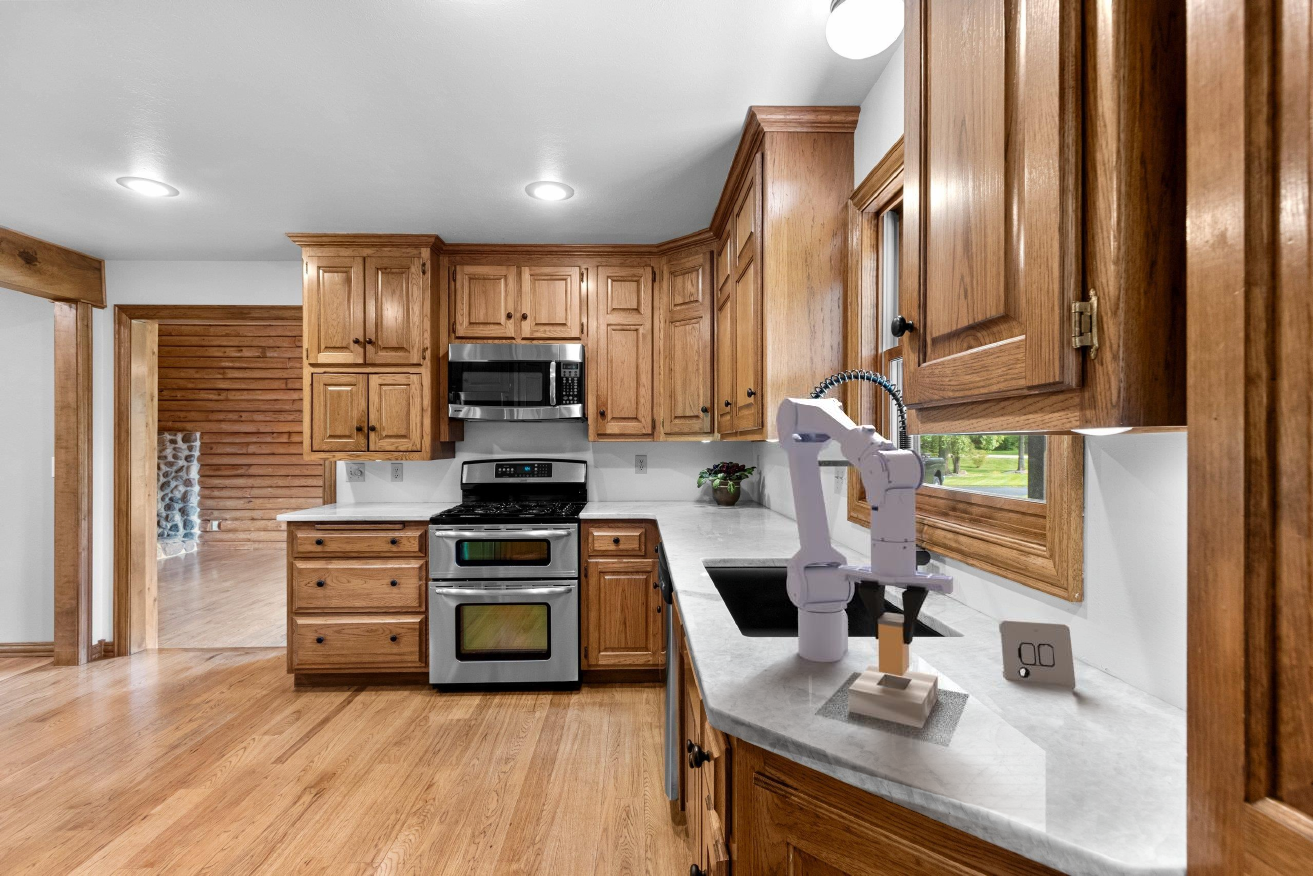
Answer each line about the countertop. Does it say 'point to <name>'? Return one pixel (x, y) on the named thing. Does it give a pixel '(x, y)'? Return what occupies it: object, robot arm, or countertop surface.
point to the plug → (892, 645)
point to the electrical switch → (1037, 652)
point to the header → (896, 700)
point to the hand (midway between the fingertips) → (893, 640)
